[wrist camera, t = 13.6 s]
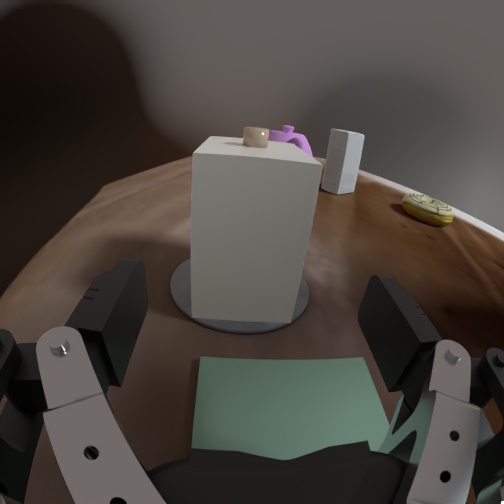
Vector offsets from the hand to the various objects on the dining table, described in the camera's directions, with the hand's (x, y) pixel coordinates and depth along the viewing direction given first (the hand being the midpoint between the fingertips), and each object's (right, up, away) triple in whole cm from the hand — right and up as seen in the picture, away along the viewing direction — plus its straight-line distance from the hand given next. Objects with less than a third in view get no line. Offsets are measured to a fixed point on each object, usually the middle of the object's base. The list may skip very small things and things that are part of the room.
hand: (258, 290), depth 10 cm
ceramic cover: (-1, -1, +13) cm, 13 cm away
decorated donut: (+33, +8, +38) cm, 51 cm away
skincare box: (+16, +13, +45) cm, 49 cm away
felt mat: (+2, -8, +1) cm, 8 cm away
